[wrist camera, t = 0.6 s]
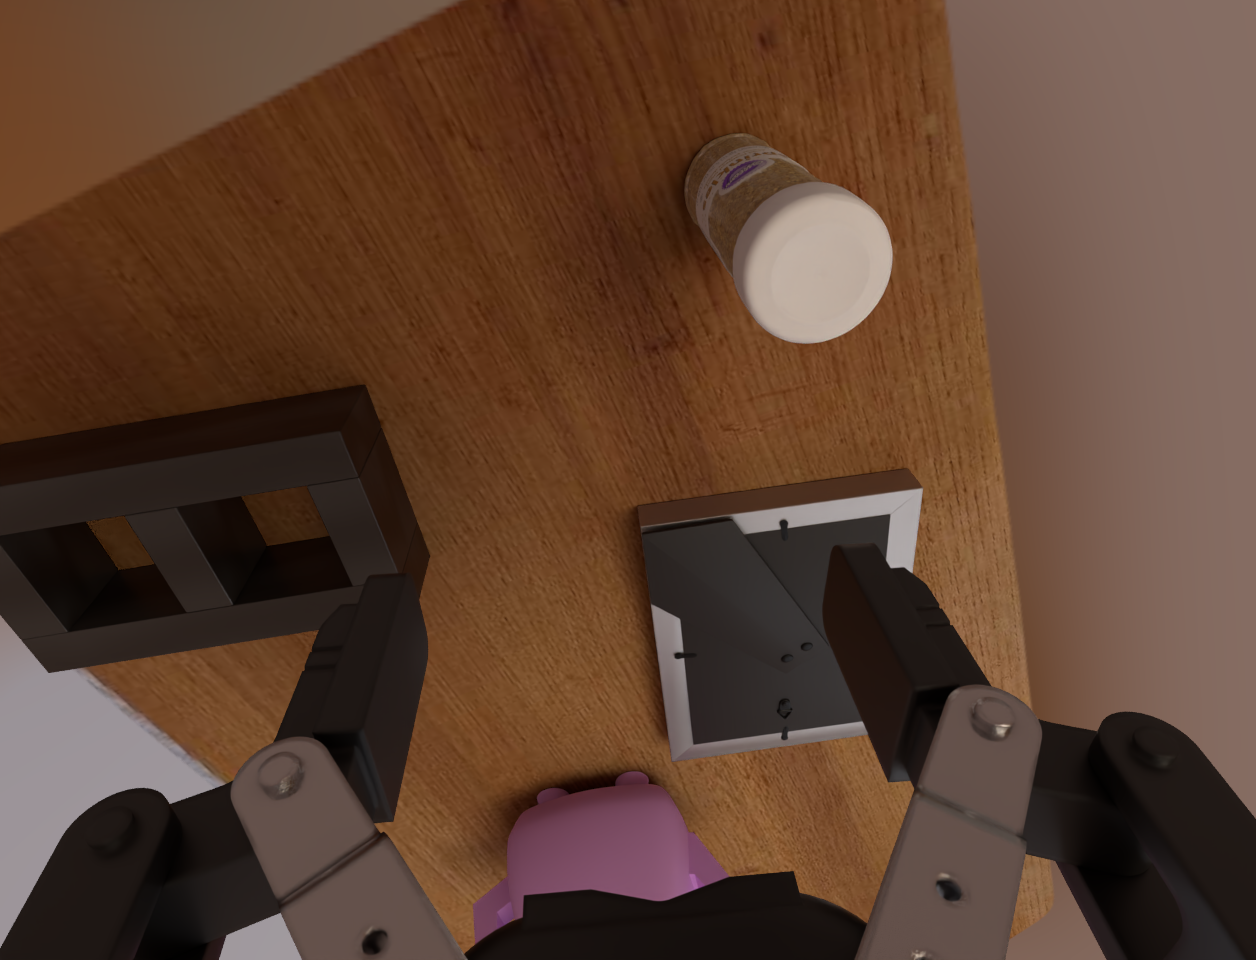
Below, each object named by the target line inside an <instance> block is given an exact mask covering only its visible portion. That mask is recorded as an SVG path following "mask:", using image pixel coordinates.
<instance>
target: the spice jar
mask: <svg viewBox="0 0 1256 960" xmlns="http://www.w3.org/2000/svg"><path fill="white" fill-rule="evenodd" d="M684 195H685V201H686V206H687V209H688V211H689V213H690V215H691V217H692V220H693V221H694V223H695V224H696V225H698V226H699V227H700V228H701V230H702V232H703V234H704V236H705V237H706V239H707V240H708V242H709V244H710V245H711V247H712V248H713V250H714V251H715V253H716V254H717V256H718V257H719V259H720V260H721V262H722V263H723V265H724V266H725V268H726V270H727V271H728V272H729V273H730V275H731V276H732V277H733V278H734V283H735V287H736V290H737V292H738V294H739V296H740V298H741V300H742V302H743V303H744V305H745V306H746V308H747V309H748V311H749V312H750V314H751V315H752V316H753V318H754V319H755V320H756V321H757V322H758V324H759V325H760V326H762V327H763V328H764V329H765V330H766V331H768V332H769V333H771V334H772V335H774V336H776V337H778V338H781V339H783V340H786V341H790V342H793V343H803V344H805V343H818V342H823V341H827V340H830V339H833V338H835V337H838V336H840V335H842V334H844V333H846V332H848V331H850V330H851V329H853V328H854V327H855V326H857V325H858V324H859V323H860V322H861V321H863V320H864V319H865V318H866V317H867V316H868V315H869V314H870V312H871V311H872V310H873V309H874V308H875V306H876V305H877V303H878V302H879V300H880V299H881V297H882V295H883V293H884V291H885V289H886V286H887V284H888V281H889V277H890V273H891V268H892V246H891V240H890V236H889V233H888V230H887V228H886V226H885V224H884V222H883V221H882V219H881V218H880V216H879V215H878V214H877V213H876V212H875V211H874V209H872V208H871V207H870V206H869V205H868V204H867V203H865V202H864V201H863V200H862V199H860V198H859V197H857V196H856V195H854V194H853V193H851V192H850V191H848V190H846V189H844V188H842V187H839V186H837V185H834V184H830V183H824V182H822V181H821V180H819V179H817V178H816V177H814V176H813V175H812V174H810V173H809V172H808V171H807V170H806V169H805V168H804V167H802V166H801V165H799V164H798V163H796V162H795V161H793V160H792V159H790V158H788V157H787V156H785V155H784V154H782V153H780V152H778V151H777V150H774V149H772V148H771V147H770V146H769V145H768V144H767V143H766V142H765V141H763V140H761V139H759V138H757V137H755V136H753V135H750V134H745V133H739V134H736V133H735V134H729V135H726V136H721V137H720V138H716V139H714V140H712V141H711V142H710V143H708V144H707V145H705V146H704V147H703V148H702V149H701V151H700V152H699V153H698V154H697V155H696V156H695V158H694V159H693V161H692V163H691V166H690V168H689V170H688V173H687V176H686V179H685V189H684Z"/></svg>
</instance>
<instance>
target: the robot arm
mask: <svg viewBox="0 0 1256 960" xmlns="http://www.w3.org/2000/svg"><path fill="white" fill-rule="evenodd" d="M822 617H823V625H824V630H825V633H826V637H827V639H828V641H829V644H830V646H831V649H832V651H833V653H834V656H835V658H836V660H837V663H838V665H839V667H840V670H841V672H842V674H843V677H844V679H845V681H846V684H847V686H848V689H849V691H850V693H851V696H852V698H853V700H854V703H855V705H856V707H857V710H858V712H859V714H860V717H861V719H862V721H863V724H864V726H865V729H866V731H867V733H868V736H869V738H870V740H871V743H872V745H873V747H874V750H875V752H876V754H877V757H878V759H879V762H880V764H881V766H882V769H883V771H884V773H885V776H886V778H887V780H888V782H899V781H911V783H912V785H913V787H914V792H913V795H912V798H911V800H910V803H909V806H908V809H907V812H906V815H905V818H904V820H903V823H902V826H901V829H900V832H899V835H898V837H897V840H896V843H895V846H894V849H893V852H892V855H891V857H890V860H889V863H888V866H887V869H886V872H885V875H884V877H883V880H882V883H881V886H880V889H879V892H878V895H877V897H876V900H875V903H874V906H873V909H872V912H871V915H870V917H869V920H868V923H866V922H864V921H863V920H862V919H860V918H859V917H857V916H856V915H854V914H852V913H851V912H849V911H847V910H845V909H844V908H842V907H840V906H838V905H835V904H833V903H831V902H829V901H826V900H824V899H820V898H817V897H814V896H811V895H807V894H802V893H799V890H798V886H797V882H796V878H795V875H794V871H790V872H779V873H768V874H756V875H745V876H734V877H727V878H724V879H722V880H719V881H716V882H714V883H711V884H708V885H706V886H703V887H700V888H698V889H695V890H692V891H690V892H687V893H685V894H682V895H679V896H677V897H674V898H671V899H669V900H665V901H653V900H648V899H642V898H637V897H631V896H626V895H620V894H615V893H609V892H604V891H598V890H593V889H587V890H576V891H565V892H553V893H542V894H531V895H524V897H523V917H522V918H519V919H517V920H514V921H511V922H509V923H507V924H506V925H504V926H502V927H500V928H498V929H496V930H494V931H493V932H491V933H490V934H488V935H487V936H486V937H484V938H483V939H481V940H480V941H479V942H477V943H476V944H475V945H474V946H473V947H472V948H470V949H469V950H468V951H467V952H466V953H465V954H464V953H463V952H462V950H461V949H460V947H459V946H458V944H457V942H456V941H455V939H454V938H453V936H452V935H451V933H450V931H449V930H448V928H447V927H446V925H445V924H444V922H443V920H442V919H441V917H440V916H439V914H438V913H437V911H436V909H435V908H434V906H433V905H432V903H431V902H430V900H429V899H428V897H427V895H426V894H425V892H424V891H423V889H422V888H421V886H420V884H419V883H418V881H417V880H416V878H415V877H414V875H413V873H412V872H411V870H410V869H409V867H408V866H407V864H406V862H405V861H404V859H403V858H402V856H401V855H400V853H399V851H398V850H397V848H396V847H395V845H394V844H393V842H392V841H391V839H390V838H389V837H388V835H387V834H386V833H385V832H382V833H380V832H379V831H378V829H377V828H376V826H375V825H374V823H381V822H393V821H394V816H395V811H396V807H397V802H398V797H399V793H400V788H401V783H402V779H403V774H404V769H405V765H406V760H407V755H408V751H409V746H410V741H411V737H412V732H413V727H414V722H415V718H416V713H417V708H418V704H419V699H420V694H421V690H422V685H423V680H424V676H425V671H426V666H427V660H428V638H427V631H426V627H425V623H424V619H423V614H422V610H421V606H420V602H419V598H418V594H417V590H416V585H415V581H414V578H413V576H412V574H411V573H409V572H407V573H392V574H377V575H369V576H368V577H367V579H366V581H365V584H364V587H363V590H362V593H361V595H360V598H359V601H358V603H355V604H340V606H339V607H338V608H337V609H336V610H335V611H334V612H333V613H332V614H331V615H330V616H329V617H328V618H327V619H326V620H325V621H324V623H323V624H322V625H321V626H320V629H319V631H318V634H317V636H316V639H315V641H314V644H313V646H312V652H310V654H309V656H308V659H307V661H306V664H305V670H304V671H302V674H301V676H300V679H299V681H298V684H297V686H296V689H295V691H294V694H293V696H292V698H291V701H290V703H289V706H288V708H287V711H286V713H285V716H284V718H283V721H282V723H281V726H280V728H279V731H278V733H277V736H276V738H275V740H274V742H273V743H272V744H270V745H268V746H266V747H264V748H262V749H261V750H259V751H258V752H256V753H255V754H254V755H253V756H251V757H250V758H249V759H248V760H247V761H246V762H245V763H244V764H243V766H242V767H241V768H240V770H239V771H238V773H237V774H236V776H235V778H234V780H233V781H231V782H229V783H227V784H225V785H223V786H220V787H218V788H215V789H212V790H209V791H206V792H203V793H200V794H198V795H195V796H192V797H189V798H186V799H183V800H181V801H177V802H175V803H172V804H169V802H168V801H167V799H166V798H165V797H164V795H163V794H161V793H160V792H158V791H156V790H153V789H148V788H135V789H129V790H125V791H122V792H119V793H116V794H114V795H111V796H109V797H107V798H105V799H103V800H101V801H99V802H98V803H96V804H95V805H93V806H92V807H90V808H89V809H88V810H86V811H85V812H84V813H83V814H81V815H80V816H79V817H78V818H77V819H76V820H75V821H74V822H73V823H72V824H71V825H70V827H69V828H68V829H67V830H66V831H65V833H64V835H63V836H62V838H61V839H60V841H59V843H58V845H57V846H56V848H55V850H54V852H53V854H52V856H51V857H50V859H49V861H48V863H47V865H46V866H45V868H44V870H43V872H42V874H41V875H40V877H39V879H38V881H37V883H36V885H35V886H34V888H33V890H32V892H31V894H30V895H29V897H28V899H27V901H26V903H25V904H24V906H23V908H22V910H21V912H20V914H19V915H18V917H17V919H16V921H15V923H14V924H13V926H12V928H11V930H10V932H9V933H8V935H7V937H6V939H5V941H4V943H3V944H2V946H1V948H0V960H219V957H220V954H221V951H222V948H223V944H224V941H225V938H226V935H228V934H230V933H232V932H235V931H237V930H240V929H242V928H244V927H247V926H249V925H252V924H254V923H256V922H259V921H261V920H264V919H266V918H269V917H271V916H274V915H276V914H278V913H281V914H282V917H283V919H284V921H285V923H286V926H287V928H288V930H289V932H290V934H291V937H292V939H293V941H294V943H295V945H296V947H297V949H298V952H299V954H300V956H301V958H302V960H1005V957H1006V952H1007V947H1008V942H1009V937H1010V932H1011V927H1012V922H1013V916H1014V911H1015V906H1016V901H1017V896H1018V891H1019V885H1020V880H1021V875H1022V870H1023V865H1024V860H1025V854H1028V855H1032V856H1036V857H1041V858H1045V859H1050V860H1054V861H1056V863H1057V865H1058V867H1059V869H1060V871H1061V873H1062V875H1063V877H1064V879H1065V881H1066V883H1067V885H1068V886H1069V888H1070V890H1071V892H1072V894H1073V896H1074V898H1075V900H1076V902H1077V904H1078V906H1079V908H1080V909H1081V911H1082V913H1083V915H1084V917H1085V919H1086V921H1087V923H1088V925H1089V927H1090V929H1091V931H1092V933H1093V934H1094V936H1095V938H1096V940H1097V942H1098V944H1099V946H1100V948H1101V950H1102V952H1103V954H1104V956H1105V958H1106V959H1107V960H1256V819H1255V818H1254V816H1253V815H1252V814H1251V812H1250V811H1249V810H1248V809H1247V807H1246V806H1245V805H1244V804H1243V803H1242V801H1241V800H1240V799H1239V798H1238V796H1237V795H1236V794H1235V792H1234V791H1233V790H1232V789H1231V787H1230V786H1229V785H1228V784H1227V783H1226V781H1225V780H1224V779H1223V777H1222V776H1221V775H1220V774H1219V772H1218V771H1217V770H1216V769H1215V767H1214V766H1213V765H1212V764H1211V762H1210V761H1209V760H1208V759H1207V757H1206V756H1205V755H1204V754H1203V752H1202V751H1201V750H1200V748H1199V747H1198V746H1197V745H1196V744H1195V743H1194V742H1193V741H1192V740H1191V739H1190V738H1189V737H1188V736H1187V735H1185V734H1184V733H1183V732H1181V731H1180V730H1178V729H1177V728H1175V727H1174V726H1172V725H1170V724H1168V723H1166V722H1164V721H1162V720H1160V719H1157V718H1155V717H1152V716H1149V715H1145V714H1142V713H1136V712H1118V713H1115V714H1111V715H1109V716H1108V717H1106V718H1105V719H1104V720H1103V721H1102V723H1101V725H1100V727H1099V729H1098V731H1093V730H1087V729H1082V728H1076V727H1071V726H1065V725H1061V724H1055V723H1050V722H1046V721H1042V720H1040V719H1037V717H1036V716H1035V714H1034V713H1033V712H1032V710H1031V709H1030V708H1029V707H1028V706H1027V705H1026V704H1025V703H1023V702H1022V701H1021V700H1019V699H1018V698H1017V697H1015V696H1013V695H1011V694H1010V693H1008V692H1005V691H1003V690H1001V689H998V688H995V687H992V686H991V685H990V683H989V681H988V680H987V678H986V677H985V675H984V674H983V672H982V670H981V669H980V667H979V666H978V664H977V663H976V661H975V660H974V658H973V656H972V655H971V653H970V652H969V650H968V649H967V647H966V646H965V644H964V642H963V641H962V639H961V638H960V636H959V635H958V633H957V631H956V630H955V628H954V627H953V625H950V621H949V619H948V617H947V616H946V614H945V613H944V611H943V610H942V609H940V608H939V603H938V602H937V600H936V599H935V597H934V596H933V594H932V592H931V591H930V589H929V588H928V586H927V585H926V584H925V583H924V582H923V581H921V580H920V579H919V578H917V577H916V576H915V575H914V574H912V573H911V572H910V571H908V570H907V569H906V568H905V567H899V568H890V566H889V564H888V563H887V561H886V559H885V558H884V556H883V554H882V553H881V551H880V549H879V548H878V546H877V545H876V544H875V543H860V544H845V545H835V546H834V547H833V548H832V550H831V554H830V560H829V566H828V573H827V579H826V585H825V592H824V598H823V605H822Z"/></svg>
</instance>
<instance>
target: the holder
mask: <svg viewBox="0 0 1256 960" xmlns="http://www.w3.org/2000/svg"><path fill="white" fill-rule="evenodd" d="M301 486H307V488H308V490H309V492H310V494H311V496H312V499H313V501H314V503H315V505H316V507H317V509H318V512H319V514H320V516H321V518H322V520H323V522H324V525H325V527H326V529H327V531H328V533H329V535H330V537H323V538H317V539H311V540H305V541H299V542H293V543H286V544H280V545H274V546H268V547H266V544H265V542H264V540H263V538H262V536H261V534H260V532H259V530H258V529H257V527H256V525H255V523H254V521H253V519H252V517H251V515H250V513H249V512H248V510H247V508H246V506H245V504H244V502H243V500H242V498H241V496H246V495H252V494H258V493H264V492H270V491H276V490H282V489H288V488H295V487H301ZM123 515H125V518H126V520H127V521H128V523H129V524H130V526H131V527H132V529H133V530H134V532H135V533H136V535H137V537H138V538H139V540H140V541H141V543H142V544H143V546H144V547H145V549H146V551H147V552H148V554H149V555H150V557H151V558H152V560H153V561H154V563H155V564H156V565H151V566H144V567H138V568H132V569H126V570H120V571H118V569H117V568H116V566H115V565H114V564H113V562H112V561H111V559H110V558H109V556H108V555H107V553H106V552H105V550H104V549H103V548H102V546H101V545H100V543H99V542H98V540H97V539H96V537H95V536H94V534H93V533H92V531H91V530H90V529H89V527H88V526H87V524H86V523H85V522H86V521H92V520H99V519H105V518H111V517H117V516H123ZM429 558H430V555H429V552H428V549H427V547H426V544H425V541H424V539H423V536H422V533H421V531H420V528H419V525H418V523H417V520H416V518H415V515H414V512H413V510H412V507H411V504H410V502H409V499H408V496H407V494H406V491H405V488H404V486H403V483H402V480H401V478H400V475H399V472H398V470H397V467H396V464H395V462H394V459H393V456H392V454H391V451H390V448H389V446H388V443H387V440H386V438H385V435H384V432H383V430H382V428H381V425H380V422H379V420H378V417H377V414H376V412H375V409H374V406H373V404H372V401H371V398H370V396H369V393H368V390H367V388H366V385H360V386H354V387H348V388H342V389H335V390H329V391H323V392H317V393H311V394H305V395H299V396H293V397H287V398H281V399H275V400H269V401H263V402H257V403H251V404H245V405H239V406H233V407H227V408H220V409H214V410H208V411H202V412H196V413H190V414H184V415H178V416H172V417H166V418H160V419H154V420H148V421H142V422H136V423H130V424H124V425H118V426H112V427H105V428H99V429H93V430H87V431H81V432H75V433H69V434H63V435H57V436H51V437H45V438H39V439H33V440H27V441H21V442H15V443H9V444H3V445H0V615H1V616H2V618H3V619H4V620H5V621H6V622H7V624H8V625H9V626H10V627H11V628H12V630H13V631H14V632H15V633H16V634H17V636H19V638H20V639H21V640H22V641H23V643H24V644H25V645H26V646H27V647H28V649H29V650H30V651H31V652H32V653H33V654H34V656H35V657H36V658H37V659H38V661H39V662H40V663H41V664H42V665H43V666H44V668H45V669H46V670H47V671H48V673H52V672H59V671H65V670H71V669H77V668H83V667H90V666H96V665H102V664H108V663H115V662H121V661H127V660H133V659H140V658H146V657H152V656H158V655H165V654H171V653H177V652H183V651H190V650H196V649H202V648H208V647H215V646H221V645H227V644H233V643H240V642H246V641H252V640H258V639H265V638H271V637H277V636H283V635H290V634H296V633H302V632H308V631H315V630H319V629H320V626H321V625H322V624H323V623H324V621H325V620H326V619H327V618H328V617H329V616H330V615H331V614H332V613H333V612H334V611H335V610H336V609H337V608H338V607H339V606H340V604H355V603H358V601H359V598H360V595H361V593H362V590H363V587H364V584H365V581H366V579H367V577H368V576H369V575H377V574H392V573H407V572H409V573H411V574H412V576H413V578H414V581H415V585H416V590H417V594H418V598H419V597H420V593H421V589H422V586H423V582H424V578H425V574H426V570H427V566H428V562H429Z"/></svg>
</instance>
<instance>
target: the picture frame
mask: <svg viewBox="0 0 1256 960" xmlns="http://www.w3.org/2000/svg"><path fill="white" fill-rule="evenodd" d="M922 492H923V487H922V486H921V484H920V483H919V482H918V480H917V479H916V478H915V477H914V475H913V474H912V473H911V471H910V470H909V469H901V470H894V471H887V472H879V473H872V474H865V475H858V476H851V477H843V478H836V479H829V480H822V481H815V482H807V483H800V484H793V485H786V486H778V487H771V488H764V489H757V490H750V491H742V492H735V493H728V494H721V495H713V496H706V497H699V498H692V499H685V500H677V501H670V502H663V503H656V504H648V505H641V506H637V507H638V515H639V522H640V530H641V537H642V545H643V552H644V560H645V567H646V575H647V582H648V590H649V597H650V604H651V612H652V619H653V627H654V634H655V642H656V649H657V657H658V664H659V672H660V679H661V687H662V694H663V702H664V709H665V716H666V724H667V731H668V739H669V746H670V753H671V760H672V762H674V761H682V760H689V759H696V758H703V757H710V756H717V755H725V754H732V753H739V752H746V751H753V750H761V749H768V748H775V747H782V746H789V745H797V744H804V743H811V742H818V741H825V740H832V739H840V738H847V737H854V736H861V735H868V733H867V731H866V729H865V726H864V724H863V721H862V719H861V717H860V714H859V712H858V710H857V707H856V705H855V703H854V700H853V698H852V696H851V693H850V691H849V689H848V686H847V684H846V681H845V679H844V677H843V674H842V672H841V670H840V667H839V665H838V663H837V660H836V658H835V656H834V653H833V651H832V649H831V646H830V644H829V641H828V639H827V637H826V633H825V630H824V625H823V617H822V605H823V598H824V592H825V585H826V579H827V573H828V566H829V560H830V554H831V550H832V548H833V547H834V546H835V545H845V544H860V543H875V544H876V545H877V546H878V548H879V549H880V551H881V553H882V554H883V556H884V558H885V559H886V561H887V563H888V564H889V566H890V568H899V567H905V568H906V569H907V570H908V571H910V572H911V573H912V572H913V564H914V556H915V548H916V540H917V532H918V524H919V516H920V508H921V500H922Z"/></svg>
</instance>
